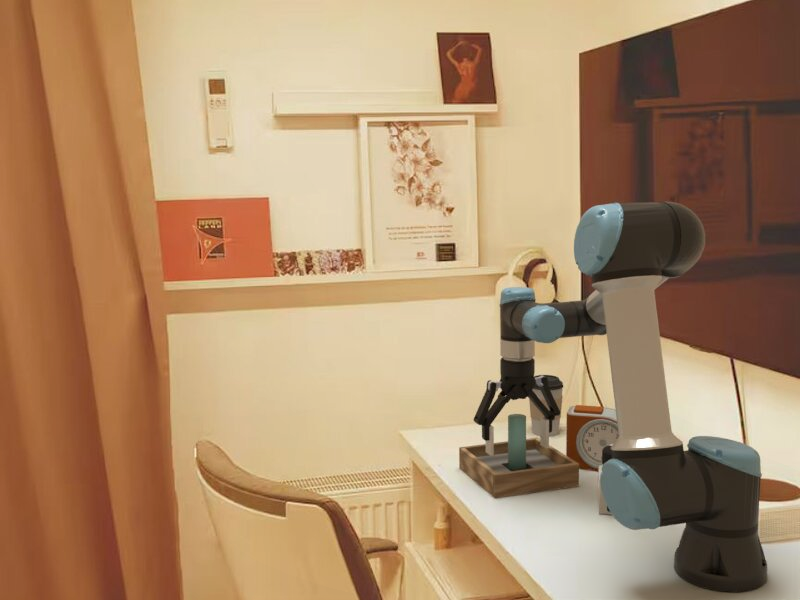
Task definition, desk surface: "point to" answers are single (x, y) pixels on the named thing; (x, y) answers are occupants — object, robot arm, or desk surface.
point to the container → (601, 501)
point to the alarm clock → (590, 434)
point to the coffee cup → (535, 413)
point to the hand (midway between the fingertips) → (517, 450)
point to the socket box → (540, 474)
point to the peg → (516, 442)
